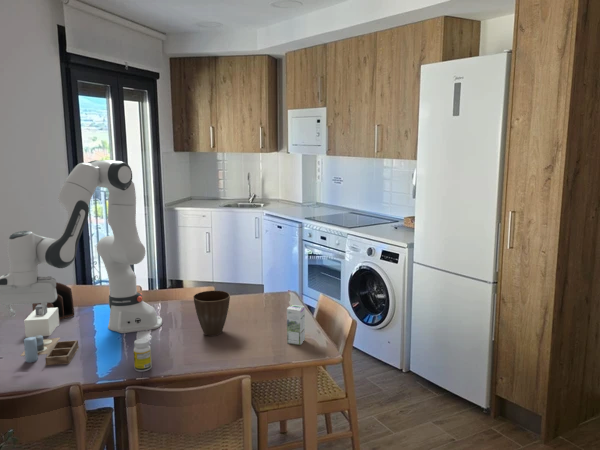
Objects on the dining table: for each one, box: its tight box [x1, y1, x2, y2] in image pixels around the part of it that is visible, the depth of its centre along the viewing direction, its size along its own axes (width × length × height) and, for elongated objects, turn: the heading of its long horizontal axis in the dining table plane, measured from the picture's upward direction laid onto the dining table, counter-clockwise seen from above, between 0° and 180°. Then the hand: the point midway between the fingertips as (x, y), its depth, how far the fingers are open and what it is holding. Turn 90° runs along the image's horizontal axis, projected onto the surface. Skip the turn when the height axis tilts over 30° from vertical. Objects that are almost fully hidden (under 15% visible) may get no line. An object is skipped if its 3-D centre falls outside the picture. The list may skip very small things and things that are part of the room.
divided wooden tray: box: [44, 339, 80, 366], centre depth 192 cm, size 8×15×4 cm, turn 11°
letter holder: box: [32, 281, 75, 321], centre depth 240 cm, size 10×20×14 cm, turn 52°
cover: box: [23, 304, 60, 338], centre depth 218 cm, size 9×15×12 cm, turn 11°
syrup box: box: [286, 304, 306, 346], centre depth 205 cm, size 6×6×14 cm
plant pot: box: [192, 290, 231, 337], centre depth 216 cm, size 15×15×16 cm
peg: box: [23, 337, 39, 363], centre depth 188 cm, size 4×4×9 cm
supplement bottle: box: [133, 338, 152, 372], centre depth 183 cm, size 6×6×10 cm
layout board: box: [19, 335, 61, 357], centre depth 201 cm, size 10×16×6 cm, turn 11°
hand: (27, 315), depth 186 cm, fingers open, 8 cm apart
